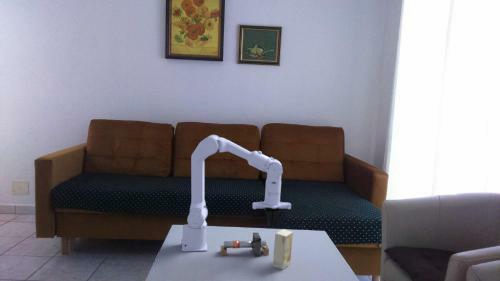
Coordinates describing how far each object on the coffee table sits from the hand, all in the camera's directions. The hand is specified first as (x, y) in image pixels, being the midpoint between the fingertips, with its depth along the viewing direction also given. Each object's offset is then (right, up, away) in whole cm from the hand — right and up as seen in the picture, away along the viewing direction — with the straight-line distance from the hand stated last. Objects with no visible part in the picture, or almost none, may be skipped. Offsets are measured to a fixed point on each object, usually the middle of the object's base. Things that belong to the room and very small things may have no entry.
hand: (270, 226), depth 133 cm
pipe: (-10, -10, 0) cm, 14 cm away
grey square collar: (-6, -10, 0) cm, 12 cm away
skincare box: (+4, -12, -8) cm, 15 cm away
